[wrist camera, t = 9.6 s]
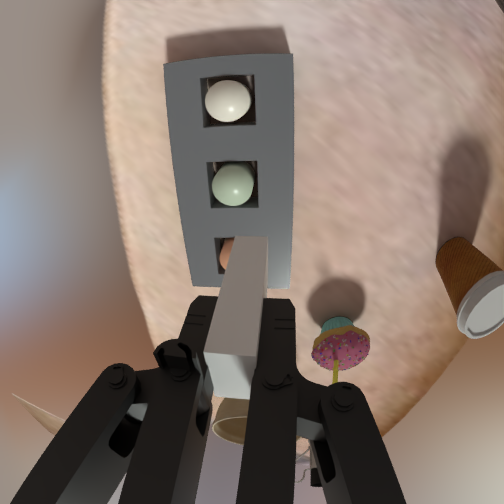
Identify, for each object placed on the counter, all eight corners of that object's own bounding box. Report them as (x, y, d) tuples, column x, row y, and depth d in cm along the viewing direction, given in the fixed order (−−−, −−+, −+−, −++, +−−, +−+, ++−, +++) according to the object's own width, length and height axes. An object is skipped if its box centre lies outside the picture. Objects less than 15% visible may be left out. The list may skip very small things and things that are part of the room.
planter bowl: (243, 353, 47) (236, 408, 38) (318, 379, 50) (321, 429, 41) (208, 389, 55) (198, 434, 46) (273, 410, 58) (271, 452, 49)
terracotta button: (223, 229, 34) (217, 244, 31) (256, 229, 34) (254, 244, 31) (225, 257, 36) (221, 273, 34) (257, 257, 36) (255, 274, 33)
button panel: (173, 65, 24) (163, 63, 22) (291, 57, 23) (292, 53, 21) (198, 272, 38) (192, 286, 36) (289, 273, 37) (289, 288, 35)
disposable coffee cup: (423, 239, 33) (464, 300, 23) (477, 217, 30) (526, 268, 20) (427, 290, 37) (457, 351, 27) (476, 269, 34) (513, 322, 24)
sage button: (217, 159, 30) (210, 168, 27) (254, 158, 29) (251, 167, 27) (219, 193, 32) (213, 206, 29) (255, 193, 32) (253, 205, 29)
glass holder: (337, 441, 70) (340, 484, 57) (291, 446, 72) (290, 489, 60) (338, 432, 65) (340, 479, 53) (287, 437, 68) (286, 484, 55)
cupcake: (304, 341, 44) (307, 407, 34) (318, 303, 40) (326, 374, 30) (353, 345, 44) (365, 407, 34) (372, 308, 40) (391, 374, 29)
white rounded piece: (212, 82, 25) (203, 82, 22) (251, 80, 25) (248, 79, 22) (214, 119, 27) (206, 123, 24) (252, 117, 27) (249, 121, 24)
